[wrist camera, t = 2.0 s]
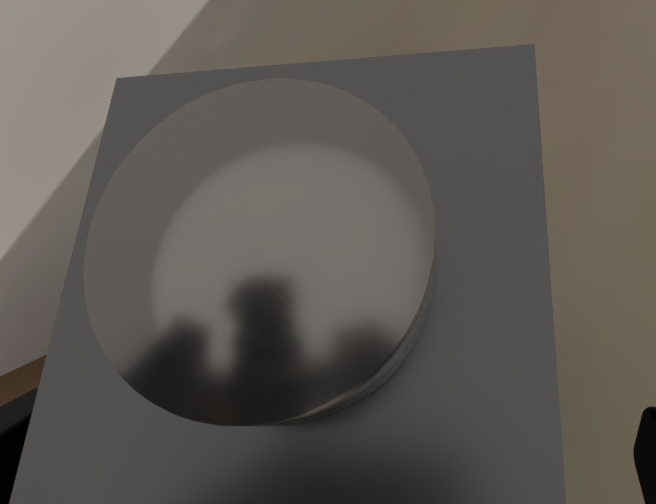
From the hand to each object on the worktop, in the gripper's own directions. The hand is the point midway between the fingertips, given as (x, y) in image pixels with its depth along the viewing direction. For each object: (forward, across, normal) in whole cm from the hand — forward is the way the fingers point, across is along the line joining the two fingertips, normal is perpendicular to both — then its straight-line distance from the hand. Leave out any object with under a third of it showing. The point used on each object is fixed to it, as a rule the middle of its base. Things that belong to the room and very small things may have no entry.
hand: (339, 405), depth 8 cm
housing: (+7, 0, +6) cm, 9 cm away
